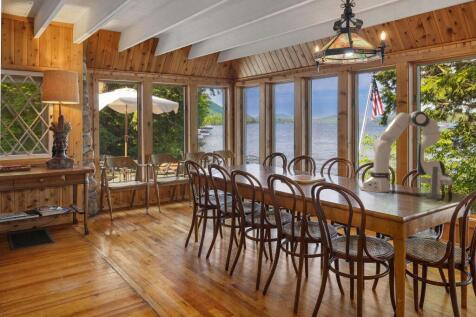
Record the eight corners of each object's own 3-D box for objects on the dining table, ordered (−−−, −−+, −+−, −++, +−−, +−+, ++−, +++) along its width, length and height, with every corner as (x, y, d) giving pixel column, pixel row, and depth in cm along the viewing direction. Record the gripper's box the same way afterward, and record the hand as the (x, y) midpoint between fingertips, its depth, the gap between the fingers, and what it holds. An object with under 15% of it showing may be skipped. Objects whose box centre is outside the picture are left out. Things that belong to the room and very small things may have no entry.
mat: (419, 195, 274) (419, 194, 274) (420, 193, 281) (420, 192, 281) (431, 196, 270) (431, 195, 270) (432, 194, 277) (432, 193, 277)
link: (429, 193, 267) (430, 173, 265) (430, 191, 271) (431, 172, 270) (439, 193, 264) (440, 173, 262) (439, 192, 268) (440, 172, 267)
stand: (426, 198, 263) (427, 166, 260) (427, 195, 272) (429, 165, 270) (441, 199, 258) (442, 167, 256) (442, 196, 267) (443, 165, 265)
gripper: (421, 174, 285) (419, 177, 273) (452, 176, 274) (451, 179, 262) (420, 183, 285) (418, 185, 273) (452, 185, 275) (451, 188, 263)
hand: (435, 182), depth 268 cm, fingers open, 8 cm apart
